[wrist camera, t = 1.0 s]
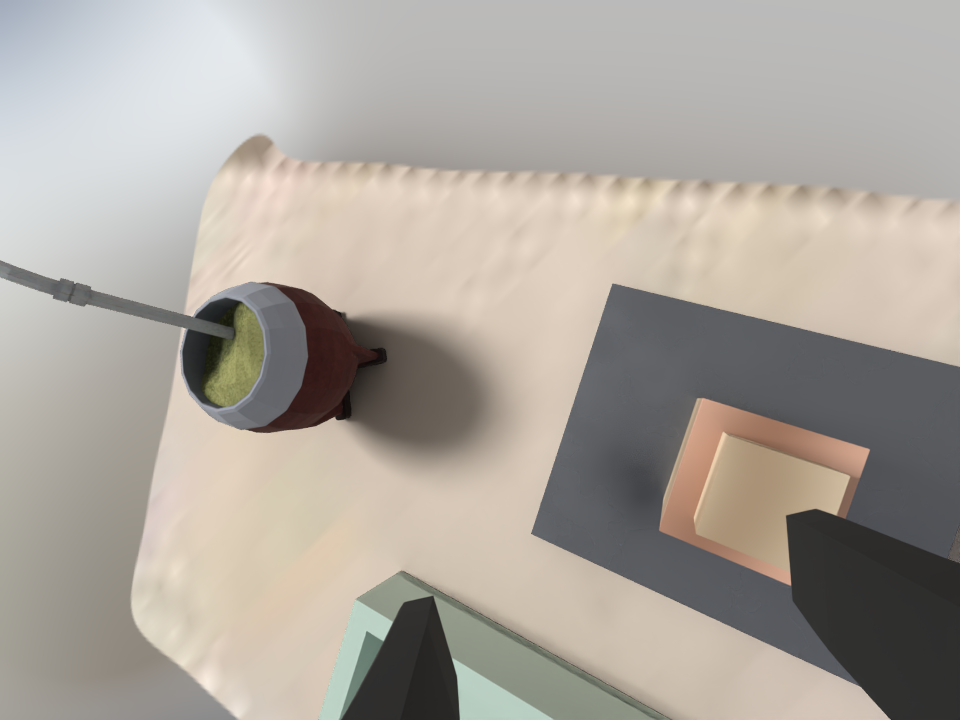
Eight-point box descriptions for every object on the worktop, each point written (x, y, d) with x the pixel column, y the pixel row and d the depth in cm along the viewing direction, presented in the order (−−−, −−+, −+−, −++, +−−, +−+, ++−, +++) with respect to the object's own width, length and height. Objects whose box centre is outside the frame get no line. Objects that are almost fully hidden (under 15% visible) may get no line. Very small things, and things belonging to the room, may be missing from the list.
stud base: (998, 380, 18) (1109, 374, 13) (885, 689, 18) (954, 786, 14) (614, 287, 23) (599, 259, 18) (535, 529, 23) (501, 560, 19)
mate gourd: (400, 417, 27) (98, 437, 13) (286, 435, 29) (-64, 467, 16) (385, 284, 28) (89, 168, 14) (276, 313, 30) (-62, 242, 17)
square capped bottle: (816, 435, 19) (900, 457, 12) (779, 543, 19) (839, 627, 12) (697, 398, 21) (707, 398, 14) (663, 497, 21) (656, 548, 14)
